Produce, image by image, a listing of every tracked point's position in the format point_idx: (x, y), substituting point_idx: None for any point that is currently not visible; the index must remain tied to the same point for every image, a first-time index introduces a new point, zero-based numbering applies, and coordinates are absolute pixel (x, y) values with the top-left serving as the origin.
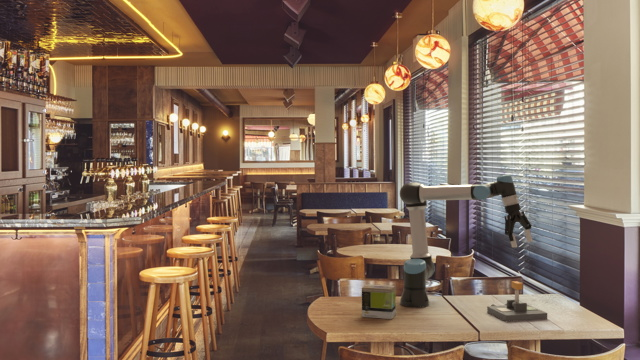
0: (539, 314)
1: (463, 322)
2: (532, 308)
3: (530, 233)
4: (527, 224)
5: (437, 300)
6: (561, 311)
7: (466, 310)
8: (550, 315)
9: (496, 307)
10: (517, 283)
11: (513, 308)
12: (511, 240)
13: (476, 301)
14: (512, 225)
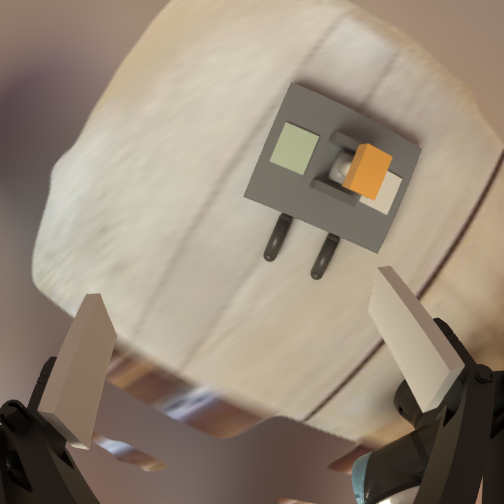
0: (318, 94)
1: (484, 216)
2: (290, 139)
3: (57, 362)
4: (28, 478)
5: (356, 397)
6: (162, 124)
7: None
8: (237, 108)
9: (368, 227)
10: (389, 156)
11: (334, 185)
12: (442, 330)
13: (283, 349)
14: (477, 491)
